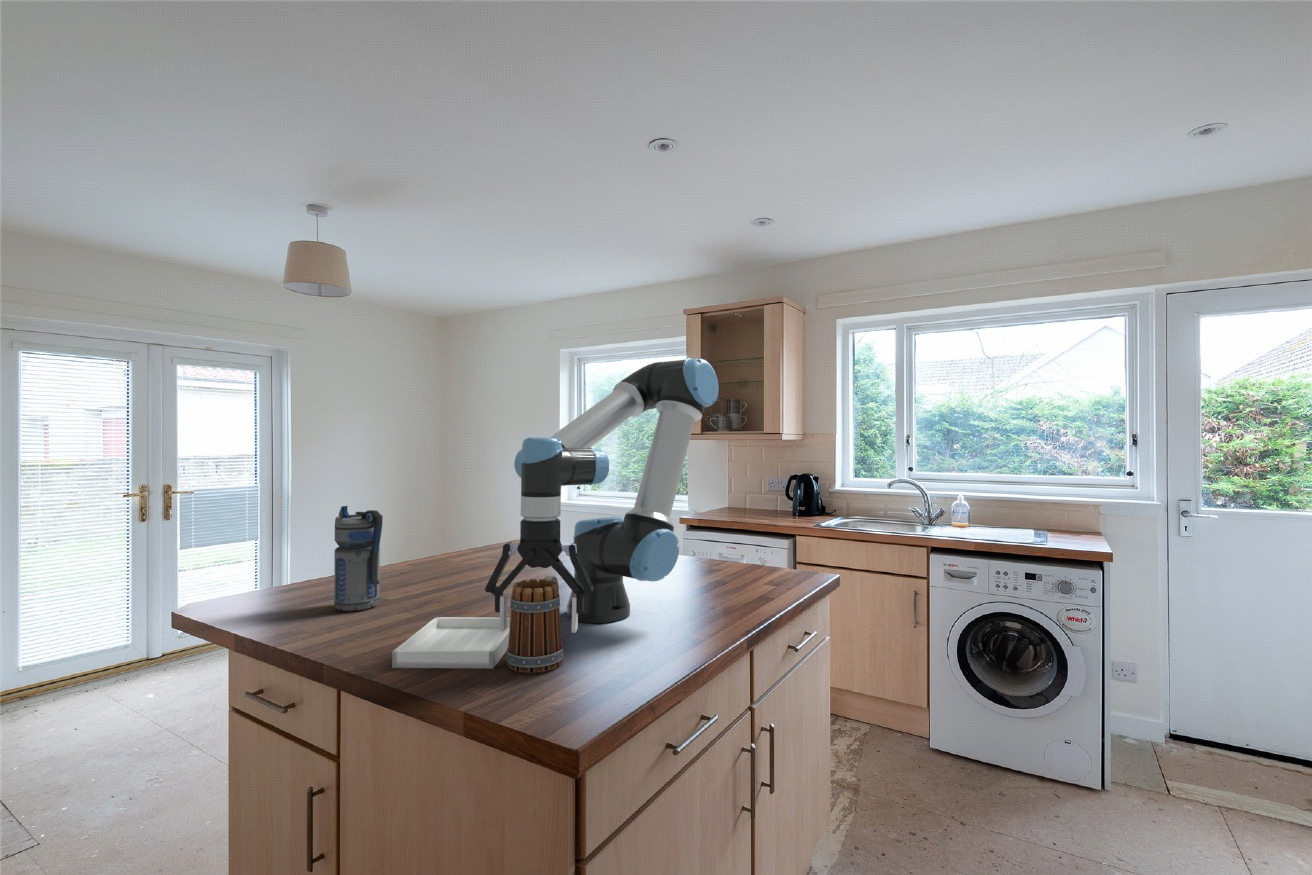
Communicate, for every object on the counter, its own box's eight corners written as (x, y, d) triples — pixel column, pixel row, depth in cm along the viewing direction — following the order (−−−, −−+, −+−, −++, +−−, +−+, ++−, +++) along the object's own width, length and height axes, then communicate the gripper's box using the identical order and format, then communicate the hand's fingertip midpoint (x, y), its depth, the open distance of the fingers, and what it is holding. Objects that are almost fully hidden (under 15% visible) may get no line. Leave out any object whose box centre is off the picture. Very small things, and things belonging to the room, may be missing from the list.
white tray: (520, 631, 134) (520, 617, 134) (493, 668, 112) (493, 651, 112) (435, 630, 134) (435, 617, 134) (392, 667, 113) (392, 651, 113)
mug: (551, 677, 108) (551, 592, 108) (496, 672, 110) (496, 589, 111) (580, 647, 124) (580, 573, 124) (530, 643, 126) (531, 570, 126)
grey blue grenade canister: (362, 615, 145) (363, 510, 145) (322, 609, 150) (322, 507, 150) (395, 605, 155) (396, 506, 155) (357, 599, 160) (357, 503, 160)
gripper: (607, 516, 121) (606, 624, 120) (481, 515, 121) (479, 623, 121) (604, 521, 113) (602, 636, 113) (469, 519, 113) (467, 634, 113)
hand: (539, 629), depth 117 cm, fingers open, 13 cm apart
